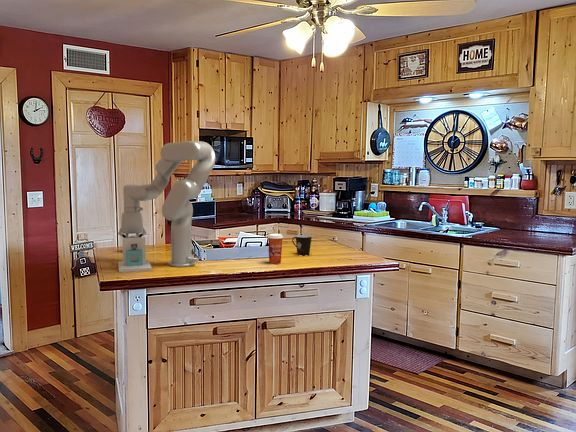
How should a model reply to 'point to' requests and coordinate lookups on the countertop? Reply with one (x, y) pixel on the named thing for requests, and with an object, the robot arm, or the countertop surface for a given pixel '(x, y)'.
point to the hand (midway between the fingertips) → (132, 247)
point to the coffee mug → (303, 244)
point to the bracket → (134, 255)
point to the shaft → (133, 244)
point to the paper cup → (275, 248)
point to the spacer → (134, 263)
